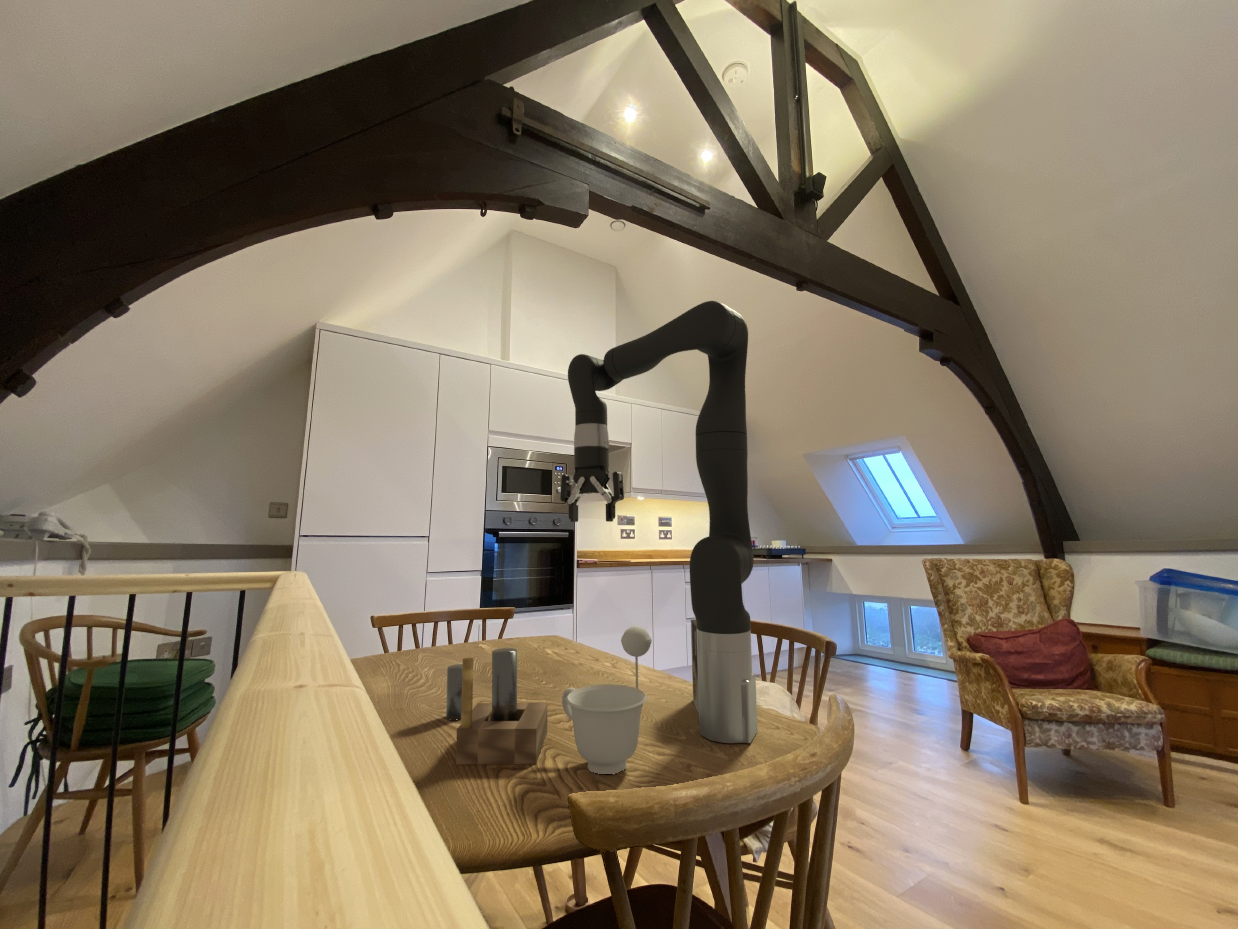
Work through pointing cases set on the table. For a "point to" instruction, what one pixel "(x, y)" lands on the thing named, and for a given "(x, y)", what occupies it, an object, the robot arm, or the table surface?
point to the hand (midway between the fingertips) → (591, 521)
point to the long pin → (504, 684)
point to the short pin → (454, 692)
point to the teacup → (605, 724)
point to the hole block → (498, 730)
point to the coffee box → (694, 663)
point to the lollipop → (636, 644)
